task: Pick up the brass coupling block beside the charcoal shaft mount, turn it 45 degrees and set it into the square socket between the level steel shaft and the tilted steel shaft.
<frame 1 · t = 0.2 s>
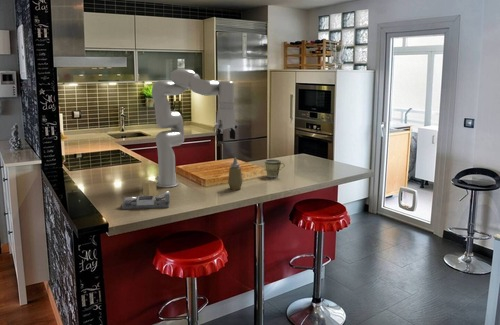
hand: (226, 140, 221), 31 cm above the table, tool pointing down, fingers open, 9 cm apart
coupler: (149, 196, 230), on the table
shaft mount: (146, 205, 214), on the table
ceramic cup: (274, 176, 275), on the table
squeeze bottle: (235, 189, 247), on the table
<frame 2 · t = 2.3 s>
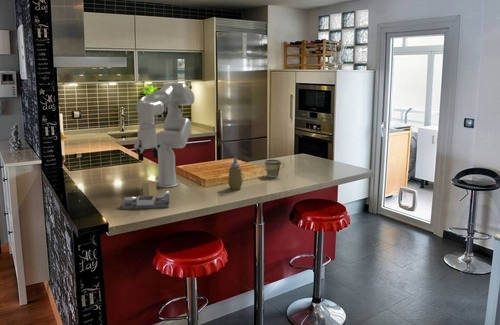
hand: (148, 159, 226), 20 cm above the table, tool pointing down, fingers open, 9 cm apart
nothing on the table moved.
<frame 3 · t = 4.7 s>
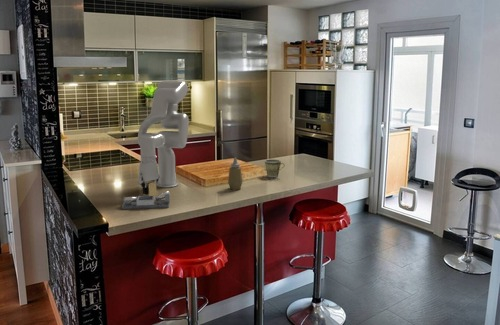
hand: (149, 192, 229), 2 cm above the table, tool pointing down, fingers closed on coupler, 5 cm apart
coupler: (149, 196, 230), on the table, touching gripper
everything else where it was.
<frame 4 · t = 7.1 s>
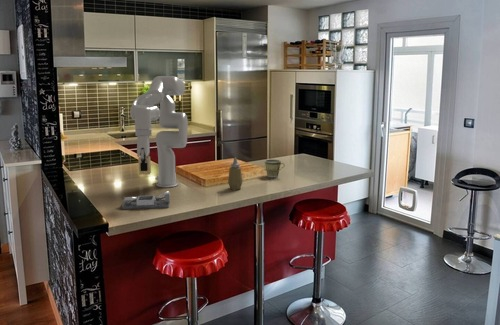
hand: (144, 169, 212), 18 cm above the table, tool pointing down, fingers closed on coupler, 5 cm apart
coupler: (144, 173, 212), point 16 cm above the table, touching gripper
everything else where it was.
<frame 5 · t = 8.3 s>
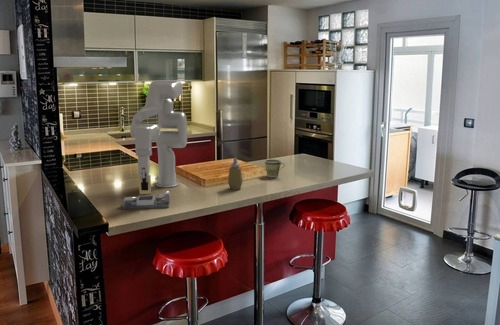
hand: (145, 188, 212), 9 cm above the table, tool pointing down, fingers closed on coupler, 5 cm apart
coupler: (145, 192, 212), point 7 cm above the table, touching gripper
everything else where it was.
when the fingers open (5 cm above the table, at t = 9.6 s): coupler drops 1 cm, resting on shaft mount.
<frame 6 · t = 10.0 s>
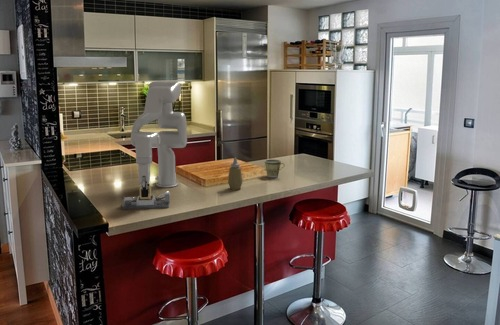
hand: (145, 194, 213), 6 cm above the table, tool pointing down, fingers open, 9 cm apart
coupler: (146, 202, 214), point 1 cm above the table, touching shaft mount
everything else where it was.
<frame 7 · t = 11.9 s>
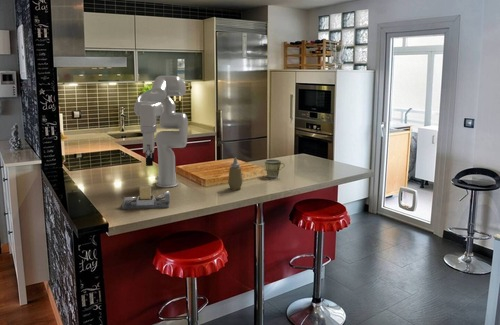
hand: (150, 163, 215), 20 cm above the table, tool pointing down, fingers open, 9 cm apart
nothing on the table moved.
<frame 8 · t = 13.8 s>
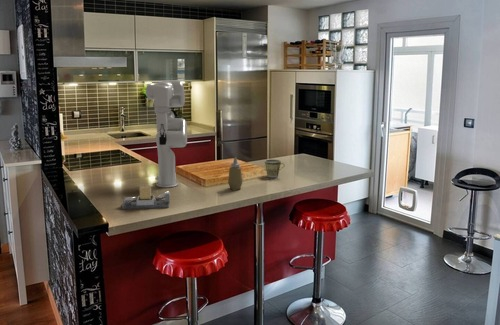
hand: (163, 143, 226), 28 cm above the table, tool pointing down, fingers open, 9 cm apart
nothing on the table moved.
at the end: coupler 0.1 cm off-centre on the shaft mount, point 1.5 cm above the shaft mount's base; coupler tilted 0°; the gripper is holding nothing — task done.
